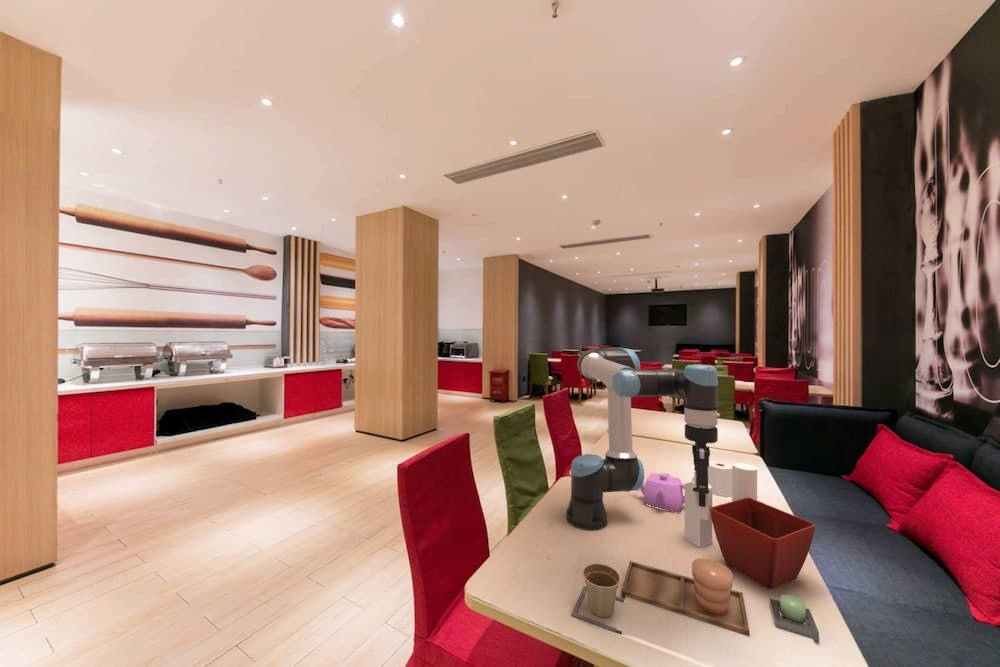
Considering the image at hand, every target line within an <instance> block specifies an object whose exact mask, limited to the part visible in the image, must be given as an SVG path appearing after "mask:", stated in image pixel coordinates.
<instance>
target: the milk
mask: <svg viewBox="0 0 1000 667" xmlns="http://www.w3.org/2000/svg"><path fill="white" fill-rule="evenodd" d="M684 484H685V489H684V496H685V503H684V534H683V535H684V539H685V540H686V541H687V542H689V543H691V544H692V545H694V546H696V547H698V548H704V547H706V546H710V545H712V544H713V523H712V518H711V512H710V508H711V507H713V493H712V487H711V486H710V485H709V484H708V490H709V493H708V520H704V519H699V518H696V497H695V496H694V491H693V488H694V476H693V477H691V482H686V483H684Z"/></svg>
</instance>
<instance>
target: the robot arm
mask: <svg viewBox="0 0 1000 667" xmlns="http://www.w3.org/2000/svg"><path fill="white" fill-rule="evenodd" d="M577 369H578V372H579V373H580V374H581V376H583V377H585V378H587V379H588V380H598V381H600V382H602V383H603V384H604V385H605V386H606V389H607V390H606V391H607V416H608V417H607V420H608V421H607V422H608V423H607V424H608V450H606V452H605V453H604V458H603V457H602V456H601V455H599V454H591V453H590V454H587V453H586V454H581V455H578V456H575V457H574V458H573V459H572V461H571V469H570V475H571V476H570V477H571V478H570V480H571V481H570V483H571V484H570V486H571V487H570V493H571V494H570V498H569V499H570V500H569V503H568V506H567V508H566V513H565V515H566V516H565V517H566V518H565V519H566V521H567V522H568V523H569V525H571V526H574V527H576V528H577V529H581V530H586V531H597V530H601V529H603V528H605V527H607V525H608V518H609V517H608V513H607V510H606V506H605V504H604V500H603V499H604V493H615V492H619V493H620V492H627V493H628V492H633V491H638V490H639V489H640V487H641V486H642V484H643V482H645V481H644V480H645V467H643V466H644V465H643V463H642V461H641V459H639V458H638V455H637V453H636V452H634V450H633V428H632V427H633V425H632V423H633V422H632V403H631V402H632V401H631V400H632V398H637V397H638V398H641V397H678V398H682V399H684V422H685V423H686V424H684V437H685V439H686V440H687V441H690V442H694V444H692V445H691V450H692V451H691V452H692V453H691V454H692V455H693V456H692V457H693V465H694V469H693V470H694V473H693V474H694V475H693V477H694V488H693V491H694V496H695V497H696V518H699V519H704V520H708V493H709V490H708V466H709V461H710V456H711V450H710V446H707V445H708V444H715V443H717V442H718V440H719V439H718V437H719V436H718V433H719V432H718V430H719V429H718V427H717V425H718V418H721V414H720V413H718V404H719V403H718V402H719V401H718V398H719V397H718V394H719V392H718V391H719V387H718V386H719V380H718V379H719V378H718V370H717V368H716V367H715V366H713V365H703V364H687V365H686V366H685V368H684V370H681V369H677V368H664V369H641V363H640V359H639V357H638V355H637V354H636V352H635V351H634V350H633V349H630V348H622V347H617V348H616V347H615V348H613V347H612V348H610V347H608V348H599V347H598V348H597V347H595V348H590V349H588V350H585V351H584V352H582V354H580V356H579V357H578V360H577Z"/></svg>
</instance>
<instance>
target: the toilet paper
mask: <svg viewBox="0 0 1000 667" xmlns="http://www.w3.org/2000/svg"><path fill="white" fill-rule="evenodd" d="M708 484H709V485H710V486H711V487H712V495H715V496H719V497H732V464H730V463H727V462H725V461H724V462H723V461H715V460H714V461H712V460H709V466H708Z"/></svg>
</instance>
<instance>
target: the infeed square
mask: <svg viewBox="0 0 1000 667" xmlns="http://www.w3.org/2000/svg"><path fill="white" fill-rule="evenodd" d="M585 594H587V589H586V585H583V587H582V589H581V591H580V594H579V595H578V598H577V600H576V602H575V604H574V606H573V609H572V611H571V615H570V616H571V617H572V618H576V619H579V620H581V621H584V622H587V623H590V624H592V625H595V626H598V627H599V628H603V629H606V630H608V631H610V632H613V633H615V634H619V635H622V634H623V631H621V630H618V629H617V627H614V626H612V625H609V624H606V623H603V622H600V621H598V620H595V619H592V618H590V617H587V616H584V615H581V614H578V611H579V608H580V606H581V605H582V602H583V599H584V597H585ZM625 599H626V598H622V597H620V596H617V595H616V600H615V601H618V602H620V603H625Z"/></svg>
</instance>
